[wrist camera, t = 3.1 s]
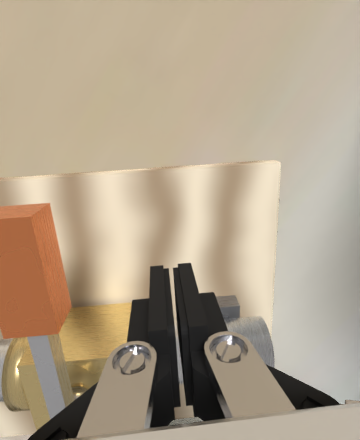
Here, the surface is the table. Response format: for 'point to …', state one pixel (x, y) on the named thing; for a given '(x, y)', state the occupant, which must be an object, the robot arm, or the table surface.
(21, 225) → the valve handle
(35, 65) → the table surface
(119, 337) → the pipe and valve
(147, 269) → the valve board
